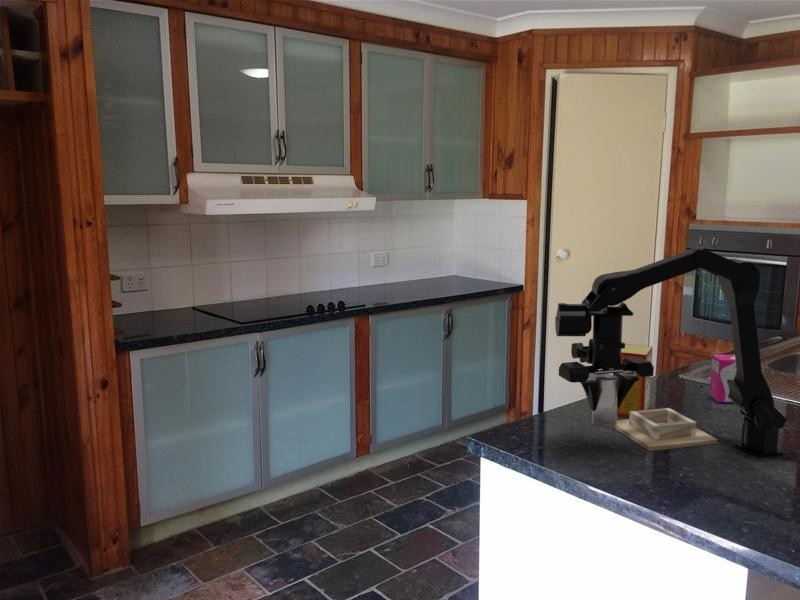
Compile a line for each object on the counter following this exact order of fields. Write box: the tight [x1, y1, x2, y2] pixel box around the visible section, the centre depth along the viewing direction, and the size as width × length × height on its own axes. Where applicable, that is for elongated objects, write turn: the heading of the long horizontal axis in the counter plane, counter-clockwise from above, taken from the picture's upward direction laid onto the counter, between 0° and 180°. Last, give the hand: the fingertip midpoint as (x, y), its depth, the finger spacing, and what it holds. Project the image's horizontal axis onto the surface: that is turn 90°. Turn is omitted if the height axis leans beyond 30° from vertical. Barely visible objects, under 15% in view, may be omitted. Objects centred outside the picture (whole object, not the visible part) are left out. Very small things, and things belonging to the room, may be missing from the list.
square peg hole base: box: [613, 407, 719, 452], centre depth 146 cm, size 16×16×4 cm
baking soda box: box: [617, 343, 653, 418], centre depth 160 cm, size 10×6×16 cm
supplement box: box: [709, 354, 737, 405], centre depth 168 cm, size 6×6×12 cm
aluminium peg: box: [591, 374, 619, 429], centre depth 138 cm, size 5×5×10 cm
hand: (604, 409), depth 138 cm, fingers closed on aluminium peg, 5 cm apart
